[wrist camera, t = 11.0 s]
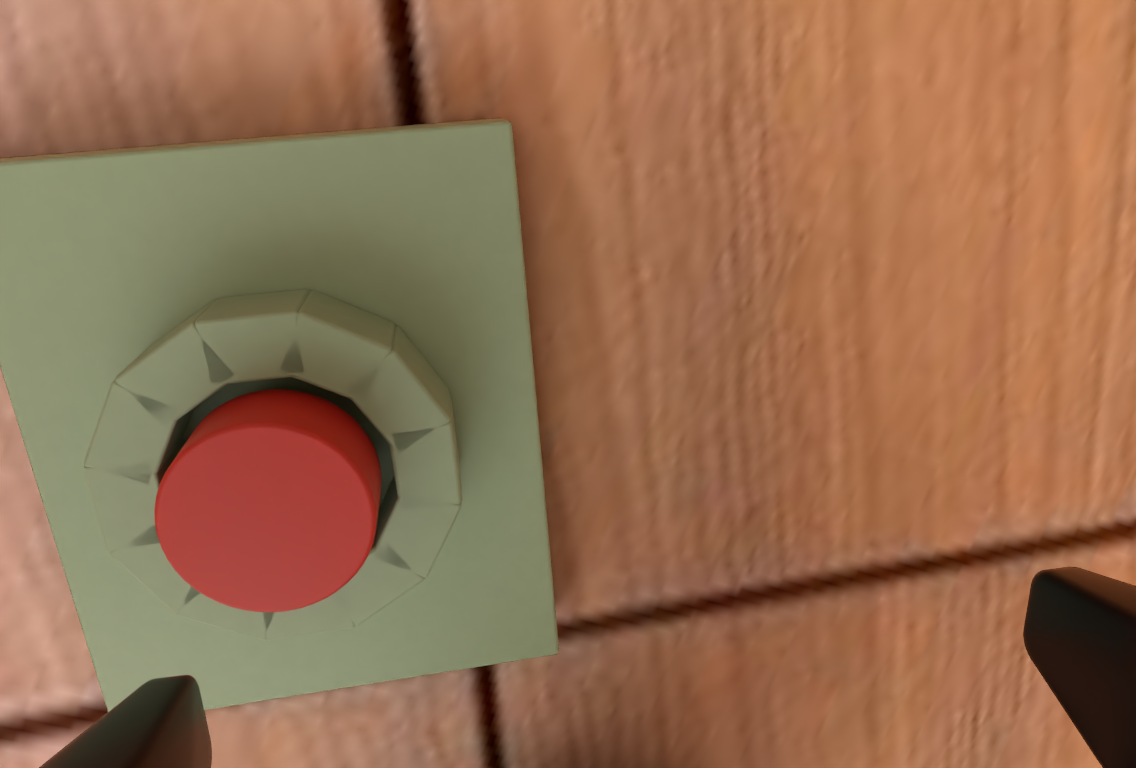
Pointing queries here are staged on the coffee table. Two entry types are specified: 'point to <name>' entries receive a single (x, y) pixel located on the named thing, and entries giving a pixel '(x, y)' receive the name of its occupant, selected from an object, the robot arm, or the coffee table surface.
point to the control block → (290, 362)
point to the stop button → (270, 502)
